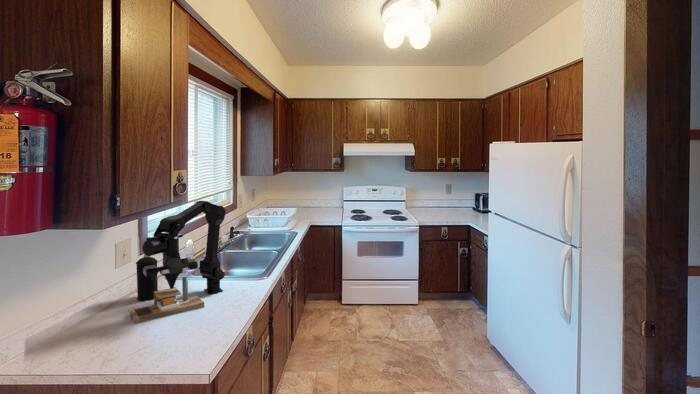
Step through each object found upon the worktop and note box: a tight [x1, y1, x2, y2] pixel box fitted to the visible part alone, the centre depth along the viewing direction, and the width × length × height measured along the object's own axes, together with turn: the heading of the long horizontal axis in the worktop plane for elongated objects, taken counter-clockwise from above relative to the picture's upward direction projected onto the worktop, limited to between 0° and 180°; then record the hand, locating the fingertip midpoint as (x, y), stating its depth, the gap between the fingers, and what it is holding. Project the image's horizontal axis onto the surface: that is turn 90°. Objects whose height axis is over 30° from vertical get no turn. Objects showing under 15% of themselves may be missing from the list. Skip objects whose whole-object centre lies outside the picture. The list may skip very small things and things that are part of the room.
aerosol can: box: [135, 253, 159, 302], centre depth 155 cm, size 8×8×20 cm
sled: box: [157, 276, 189, 311], centre depth 144 cm, size 7×11×10 cm, turn 131°
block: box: [161, 296, 175, 307], centre depth 143 cm, size 4×4×4 cm
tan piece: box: [128, 286, 205, 325], centre depth 143 cm, size 10×25×8 cm, turn 131°
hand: (171, 288), depth 143 cm, fingers closed
